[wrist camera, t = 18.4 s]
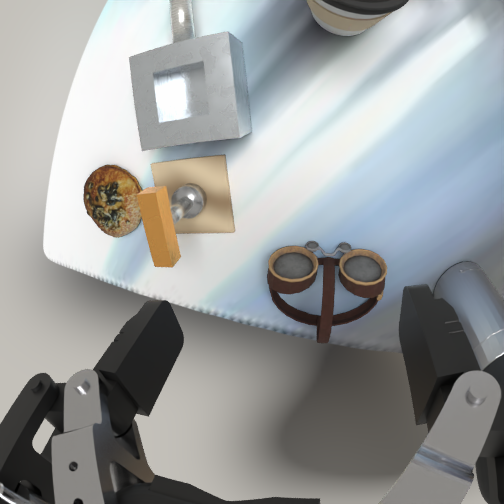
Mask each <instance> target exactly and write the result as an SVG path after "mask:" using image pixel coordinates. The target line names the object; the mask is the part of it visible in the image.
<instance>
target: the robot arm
mask: <svg viewBox="0 0 504 504" xmlns="http://www.w3.org/2000/svg"><path fill="white" fill-rule="evenodd" d="M399 338H400V344H401V348H402V352H403V356H404V361H405V365H406V370H407V375H408V380H409V385H410V390H411V396H412V402H413V408H414V414H415V421H416V425H420V424H425V423H427V427H428V435H427V436H426V438H425V439H424V441H423V443H422V444H421V446H420V448H419V449H418V451H417V452H416V454H415V455H414V457H413V458H412V460H411V461H410V463H409V464H408V466H407V467H406V469H405V470H404V471H403V473H402V474H401V476H400V477H399V478H398V480H397V481H396V482H395V484H394V485H393V486H392V488H391V489H390V490H389V491H388V493H387V494H386V495H385V496H384V498H383V499H382V500H381V501H380V502H379V504H461V502H462V501H463V499H464V497H465V495H466V494H467V492H468V490H469V488H470V486H471V484H472V481H473V478H474V474H473V473H472V470H473V468H474V465H476V473H477V480H478V484H479V489H480V491H481V494H482V496H483V498H484V499H485V501H486V502H487V503H488V504H504V300H503V298H502V297H501V295H500V294H499V293H498V291H497V290H496V288H495V287H494V285H493V284H492V282H491V281H490V280H489V278H488V277H487V275H486V274H485V273H484V271H483V270H482V269H481V267H480V266H479V265H477V264H476V263H473V262H461V263H458V264H456V265H454V266H452V267H451V268H449V269H448V270H447V271H446V272H445V273H444V274H443V275H442V276H441V278H440V279H439V280H438V282H437V284H436V287H435V290H434V297H433V294H432V292H431V290H430V288H429V286H428V285H427V284H422V285H414V286H405V287H404V290H403V297H402V306H401V314H400V321H399ZM183 343H184V337H183V332H182V330H181V327H180V325H179V323H178V321H177V318H176V316H175V314H174V311H173V309H172V307H171V305H170V303H169V302H168V301H166V300H163V301H147V302H146V303H145V304H144V305H143V307H142V308H141V309H140V311H139V312H138V313H137V314H136V315H135V316H134V317H132V318H131V319H130V320H129V321H127V322H126V324H125V325H124V326H123V328H122V329H121V331H120V334H118V335H117V336H116V337H115V339H114V342H112V343H111V345H110V346H109V347H108V349H107V350H106V352H105V353H104V354H103V356H102V357H101V359H100V360H99V362H98V363H97V365H96V366H95V367H94V369H93V370H90V369H85V370H81V371H79V372H77V373H75V374H74V375H73V376H72V377H71V378H70V379H69V380H68V381H67V383H55V382H54V381H53V380H52V379H51V377H50V376H49V375H48V374H46V373H40V374H37V375H35V376H34V377H32V378H31V379H30V380H29V381H28V383H27V384H26V386H25V387H24V388H23V390H22V391H21V393H20V395H19V396H18V398H17V399H16V400H15V402H14V404H13V405H12V406H11V408H10V410H9V411H8V413H7V414H6V416H5V418H4V419H3V421H2V422H1V424H0V504H320V499H305V498H304V499H303V498H281V497H272V498H264V499H254V500H244V501H225V500H223V499H220V498H218V497H216V496H213V495H211V494H209V493H207V492H205V491H203V490H201V489H199V488H197V487H195V486H193V485H191V484H188V483H183V482H180V481H175V480H172V479H168V478H165V477H161V476H158V475H155V474H154V473H153V472H152V470H151V469H150V467H149V465H148V463H147V460H146V457H145V453H144V449H143V446H142V442H141V438H140V434H139V431H138V426H137V423H136V421H135V420H134V417H135V415H136V414H140V415H145V416H149V415H150V413H151V411H152V409H153V406H154V404H155V402H156V400H157V398H158V396H159V394H160V392H161V390H162V388H163V386H164V384H165V382H166V380H167V377H168V376H169V373H170V372H171V370H172V368H173V365H174V363H175V361H176V359H177V357H178V355H179V353H180V351H181V349H182V347H183ZM44 418H45V419H47V421H48V422H50V423H51V424H52V425H53V426H54V427H55V430H54V431H53V433H52V435H51V437H50V439H49V441H48V443H47V444H46V446H45V448H44V450H43V452H42V453H41V454H39V453H37V452H36V451H35V450H34V448H33V446H32V440H33V438H34V436H35V434H36V432H37V431H38V429H39V427H40V425H41V424H42V422H43V420H44ZM20 481H21V482H20Z"/></svg>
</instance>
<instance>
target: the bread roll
mask: <svg viewBox="0 0 504 504" xmlns="http://www.w3.org/2000/svg"><path fill="white" fill-rule="evenodd" d="M141 191H142V190H141V187H140V186H139V184H138V181H137V180H136V178H135V177H133V176H132V175H131V174H130V173H128V172H127V171H126V170H125V169H122V168H120V167H118V166H116V165H104V166H102V167H100V168H98V169H97V170H95V171H94V172H92V174H91V175H90V177H89V178H88V179H87V181H86V183H85V186H84V204H85V207H86V210H87V214H88V215H89V216H90V217H91V218H92V219H93V220H94V222H95V223H96V224H97V226H98V227H99V228H100V229H101V230H102V231H104V233H106V234H108V235H110V236H113V237H122V236H123V235H127V234H128V233H130V232H131V231H133V230H134V229H136V228H137V226H138V224H139V223H140V219H141V217H142V216H141V212H140V207H139V203H138V199H137V194H138V193H140V192H141Z"/></svg>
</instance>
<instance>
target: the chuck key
mask: <svg viewBox="0 0 504 504" xmlns="http://www.w3.org/2000/svg"><path fill="white" fill-rule="evenodd" d="M137 199H138V203H139V207H140V212H141V216H142V220H143V224H144V228H145V232H146V236H147V240H148V244H149V248H150V252H151V255H152V259H153V262H154V266H155V267H173V266H174V265H175V264H176V262H177V261H178V260H179V259H180V257H181V255H180V251H179V246H178V242H177V237H176V232H175V228H174V225H175V224H176V223H177V222H178V221H179V220H180V219H181V218H182V217H183V218H187V219H190V218H194V217H196V216H197V215H198V214H199V213H200V212H201V211H202V210H203V209H204V207H205V206H206V203H207V196H206V193H205V191H204V190H203V189H202V188H201V187H200V186H199V185H197V184H194V183H187V184H185V185H183V186H182V187H180V188H179V189H178V190H176V191H175V192H174V194H173V195H172V199H171V204H172V206H171V207H170V203H169V198H168V193H167V187H166V186H158V187H148V188H146V189H145V190H143V191H141V192H140V193H138V194H137Z"/></svg>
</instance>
